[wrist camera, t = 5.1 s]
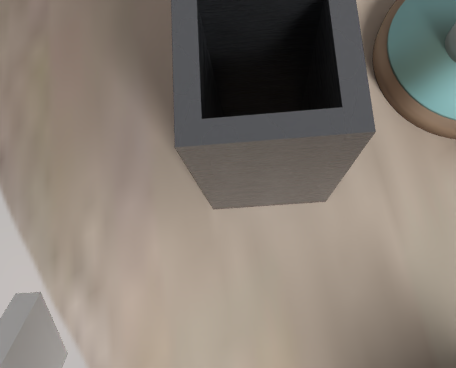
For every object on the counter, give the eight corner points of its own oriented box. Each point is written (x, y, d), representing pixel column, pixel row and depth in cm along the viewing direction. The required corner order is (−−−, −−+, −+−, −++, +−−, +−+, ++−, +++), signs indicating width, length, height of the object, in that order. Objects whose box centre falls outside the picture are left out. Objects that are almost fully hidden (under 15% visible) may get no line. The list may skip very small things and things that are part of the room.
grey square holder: (325, 201, 26) (375, 131, 14) (213, 209, 27) (174, 147, 15) (313, 97, 28) (350, -39, 16) (208, 106, 28) (170, -20, 17)
